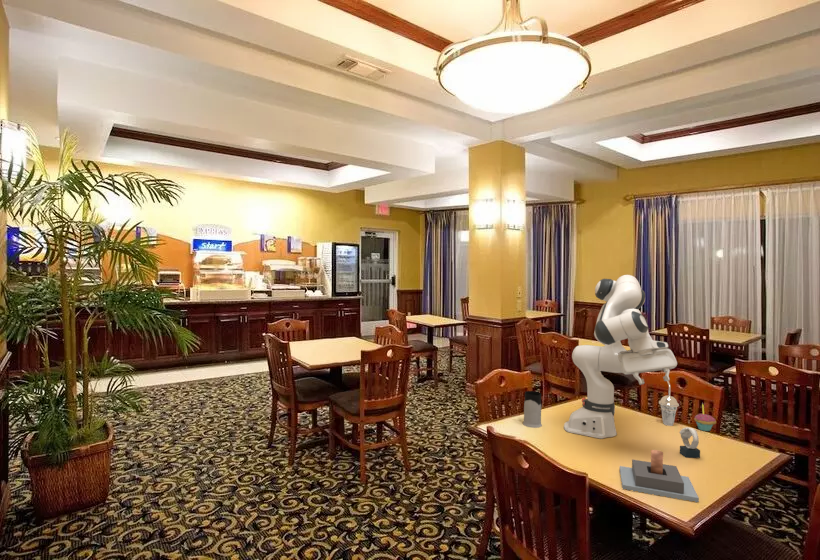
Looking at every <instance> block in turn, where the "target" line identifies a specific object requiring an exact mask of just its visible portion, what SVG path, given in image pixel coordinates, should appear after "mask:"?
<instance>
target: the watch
mask: <svg viewBox="0 0 820 560" xmlns="http://www.w3.org/2000/svg"><path fill="white" fill-rule="evenodd" d="M679 434H680V437H681V440H682V443H683V445H680V446H679V454H680V455H681V456H683V457H684V458H686V459H700V458H701V449H699V448H698V445H699V439H700V438H699V434H698V432H697V430H696V429H695V428H693V427H683V428H682V429H680V431H679ZM691 437H692V441H691V443H690V440H689V439H690V438H691Z"/></svg>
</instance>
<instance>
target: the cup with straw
mask: <svg viewBox="0 0 820 560" xmlns="http://www.w3.org/2000/svg"><path fill="white" fill-rule="evenodd" d="M666 382H667V385H668V395H665V396H662V397H661V399H660V400H658V404H659V405H660V409H661V418H662V419H661V420H662V425H665V426H667V427H673V426H674V424H675V418H676V412H677V410H678V407H680V403H678V401H677V399H676V398H675V397H674V396H671V383H670V380H669V381H666Z"/></svg>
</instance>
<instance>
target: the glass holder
mask: <svg viewBox="0 0 820 560" xmlns="http://www.w3.org/2000/svg"><path fill="white" fill-rule="evenodd" d="M523 403H524V405H523V422H522V425H523V426H524V427H527V428H533V429H534V428H535V429H536V428H538V429H539V428H541V427H543V424H542V393H541V392H540V391H534V390H533V391H532V390H527V391H524V402H523Z"/></svg>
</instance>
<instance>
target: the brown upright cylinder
mask: <svg viewBox="0 0 820 560" xmlns="http://www.w3.org/2000/svg"><path fill="white" fill-rule="evenodd" d="M650 462H651V473H654V474H660V475H663V464H664V452H663V451H662V450H659V449H651V450H650Z"/></svg>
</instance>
